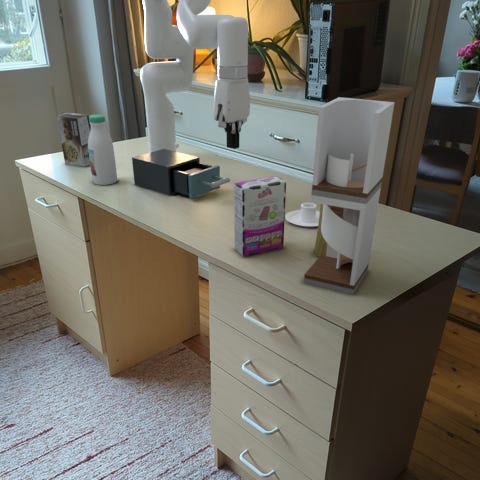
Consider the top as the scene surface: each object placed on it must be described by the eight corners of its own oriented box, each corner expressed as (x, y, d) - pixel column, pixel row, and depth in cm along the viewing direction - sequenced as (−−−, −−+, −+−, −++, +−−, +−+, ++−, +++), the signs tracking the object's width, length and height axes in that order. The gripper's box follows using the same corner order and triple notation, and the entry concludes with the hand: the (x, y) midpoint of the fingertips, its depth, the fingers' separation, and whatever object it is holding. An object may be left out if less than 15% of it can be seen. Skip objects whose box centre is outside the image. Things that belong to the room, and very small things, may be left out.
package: (180, 187, 155) (179, 172, 153) (196, 181, 160) (195, 167, 157) (191, 190, 153) (190, 175, 150) (207, 185, 157) (207, 170, 155)
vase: (311, 248, 124) (317, 190, 116) (337, 248, 125) (343, 190, 117) (317, 259, 119) (323, 200, 111) (343, 259, 119) (351, 199, 112)
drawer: (235, 192, 155) (235, 169, 151) (208, 203, 147) (207, 180, 143) (185, 178, 166) (184, 157, 162) (157, 188, 158) (155, 165, 154)
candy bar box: (273, 241, 128) (276, 175, 119) (284, 248, 124) (288, 181, 115) (232, 249, 123) (232, 181, 114) (242, 257, 120) (243, 188, 111)
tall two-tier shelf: (321, 261, 118) (338, 97, 99) (367, 271, 114) (394, 102, 95) (303, 282, 110) (319, 107, 91) (352, 294, 106) (379, 113, 87)
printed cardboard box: (96, 162, 183) (90, 114, 175) (84, 167, 178) (77, 118, 170) (76, 159, 187) (68, 112, 178) (64, 163, 182) (55, 115, 173)
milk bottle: (120, 178, 168) (113, 113, 158) (113, 186, 162) (105, 118, 151) (97, 177, 169) (88, 112, 158) (89, 185, 163) (79, 118, 152)
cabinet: (200, 184, 164) (199, 157, 159) (169, 195, 155) (167, 167, 150) (165, 175, 172) (163, 148, 167) (134, 185, 163) (131, 157, 158)
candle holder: (277, 215, 142) (278, 200, 140) (315, 209, 146) (316, 194, 144) (298, 231, 133) (299, 215, 130) (338, 225, 137) (340, 209, 134)
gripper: (239, 69, 138) (239, 140, 148) (201, 75, 128) (204, 150, 138) (262, 71, 134) (260, 144, 144) (225, 77, 124) (225, 155, 134)
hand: (233, 147), depth 141 cm, fingers closed
